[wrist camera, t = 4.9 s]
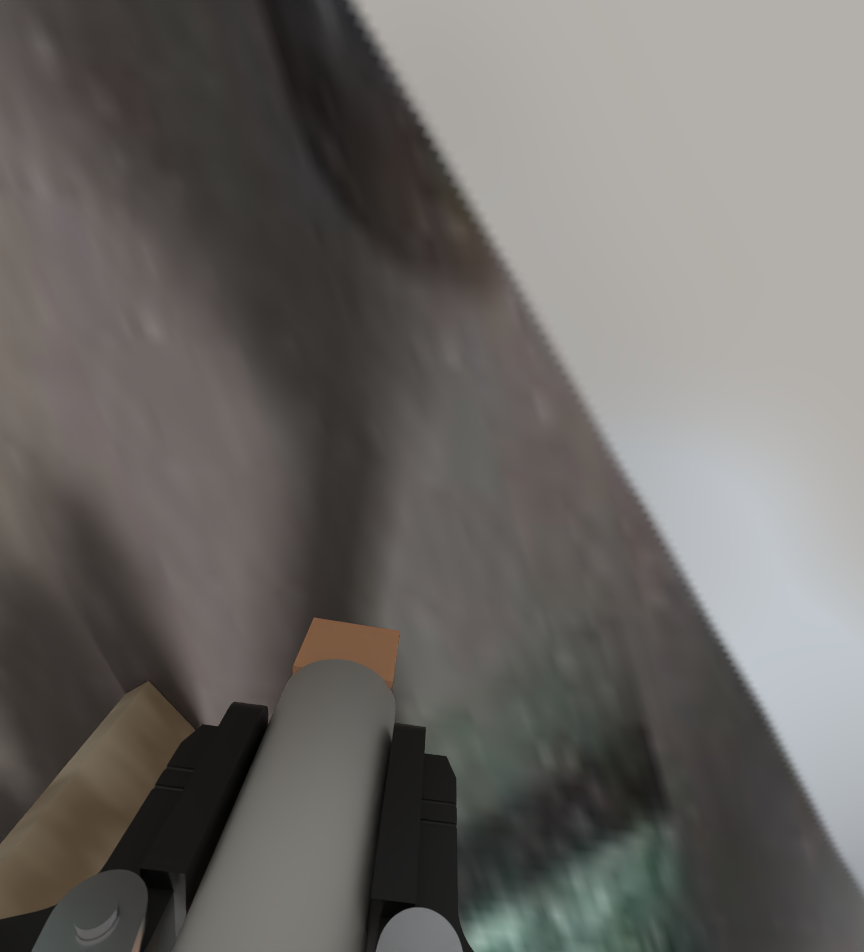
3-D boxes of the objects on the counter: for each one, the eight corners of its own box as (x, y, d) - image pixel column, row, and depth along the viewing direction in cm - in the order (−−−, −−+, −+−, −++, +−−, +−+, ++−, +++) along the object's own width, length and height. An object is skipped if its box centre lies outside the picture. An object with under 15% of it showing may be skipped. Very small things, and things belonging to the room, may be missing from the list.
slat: (210, 745, 20) (65, 1011, 12) (187, 757, 20) (30, 1027, 13) (148, 680, 19) (-48, 925, 12) (125, 694, 19) (-83, 942, 12)
